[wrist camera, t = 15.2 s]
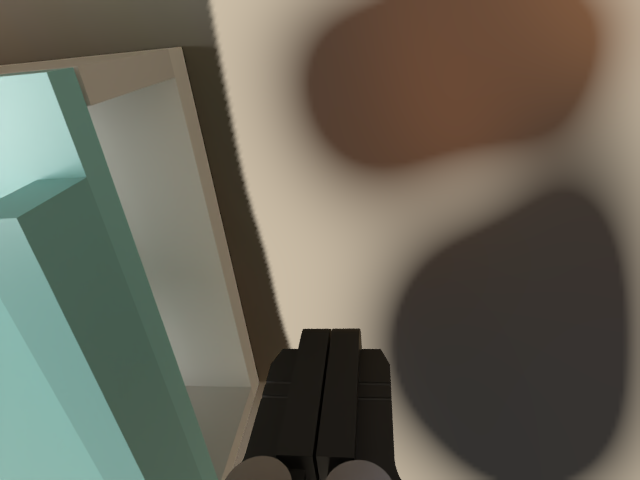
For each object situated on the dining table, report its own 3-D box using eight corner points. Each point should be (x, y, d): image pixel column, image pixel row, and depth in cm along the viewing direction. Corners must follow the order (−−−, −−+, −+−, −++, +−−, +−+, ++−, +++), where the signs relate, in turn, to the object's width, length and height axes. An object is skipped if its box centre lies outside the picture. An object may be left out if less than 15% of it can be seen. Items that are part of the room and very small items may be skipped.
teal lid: (27, 484, 17) (-31, 564, 15) (-249, 99, 10) (-456, 129, 7) (224, 496, 16) (196, 585, 13) (73, 67, 9) (-47, 90, 6)
